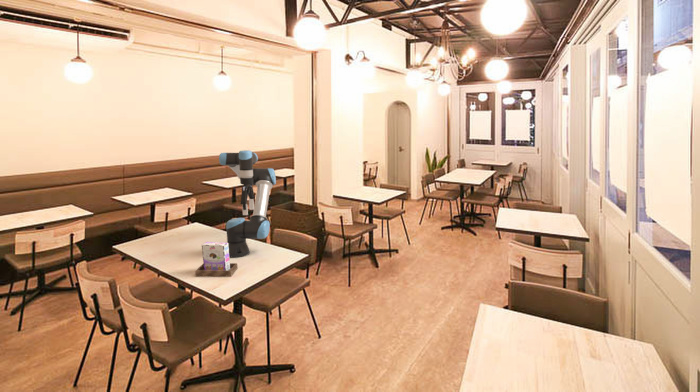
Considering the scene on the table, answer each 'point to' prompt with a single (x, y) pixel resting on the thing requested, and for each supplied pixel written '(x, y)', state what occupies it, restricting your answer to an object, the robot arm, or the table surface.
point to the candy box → (216, 256)
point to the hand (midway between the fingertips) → (248, 212)
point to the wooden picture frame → (216, 271)
